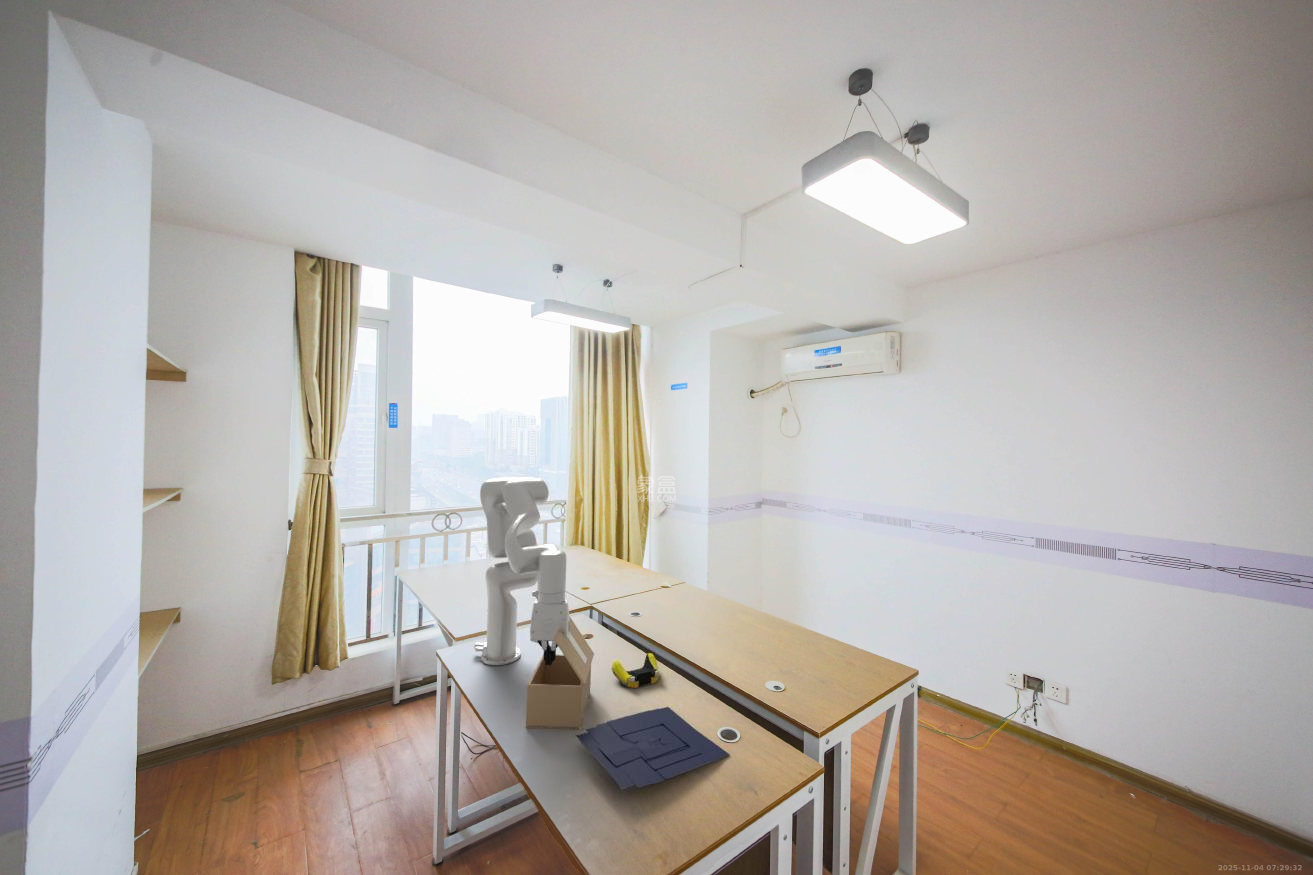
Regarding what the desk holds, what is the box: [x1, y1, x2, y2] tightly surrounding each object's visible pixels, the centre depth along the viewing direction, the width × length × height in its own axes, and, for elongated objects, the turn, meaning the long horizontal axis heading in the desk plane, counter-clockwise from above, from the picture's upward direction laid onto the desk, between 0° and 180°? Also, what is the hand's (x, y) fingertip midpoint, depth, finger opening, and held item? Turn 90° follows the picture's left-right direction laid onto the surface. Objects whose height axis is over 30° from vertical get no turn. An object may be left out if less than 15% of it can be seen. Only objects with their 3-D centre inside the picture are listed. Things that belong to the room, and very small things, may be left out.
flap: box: [554, 615, 595, 685], centre depth 127 cm, size 14×17×1 cm
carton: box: [525, 653, 592, 731], centre depth 127 cm, size 14×17×11 cm
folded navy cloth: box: [575, 706, 730, 790], centre depth 111 cm, size 24×30×4 cm
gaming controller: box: [611, 652, 660, 689], centre depth 144 cm, size 15×6×10 cm
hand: (549, 662), depth 127 cm, fingers closed
